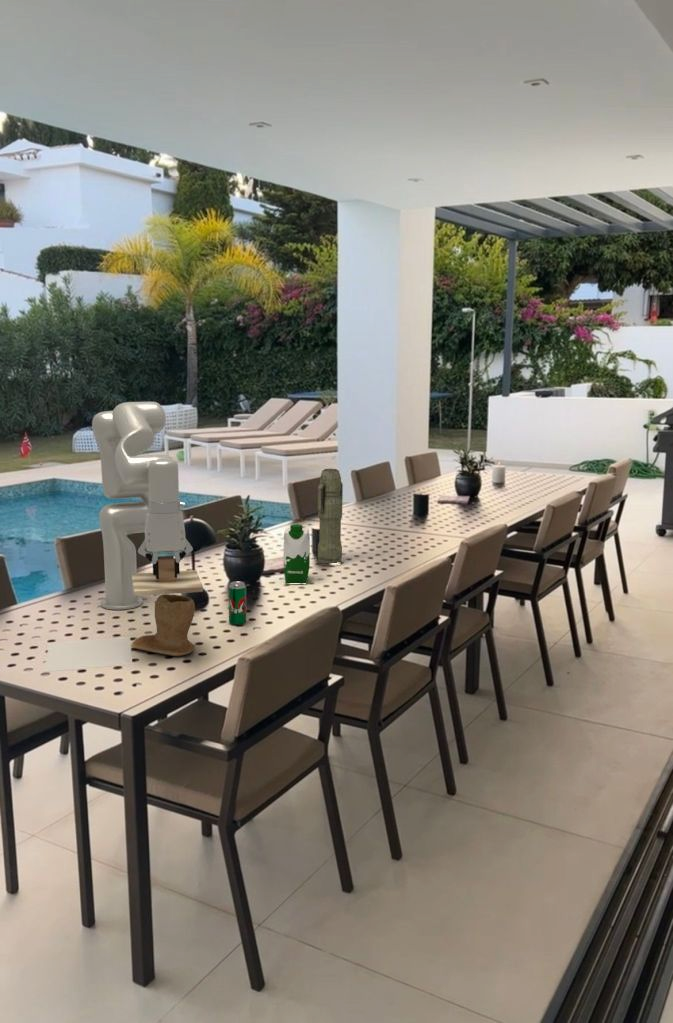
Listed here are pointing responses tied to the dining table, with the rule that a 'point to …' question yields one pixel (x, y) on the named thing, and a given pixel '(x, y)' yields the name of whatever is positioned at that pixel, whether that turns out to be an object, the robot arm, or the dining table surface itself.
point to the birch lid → (166, 580)
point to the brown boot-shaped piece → (170, 627)
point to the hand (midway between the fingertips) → (166, 576)
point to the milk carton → (296, 554)
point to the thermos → (330, 516)
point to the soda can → (237, 603)
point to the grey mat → (88, 654)
